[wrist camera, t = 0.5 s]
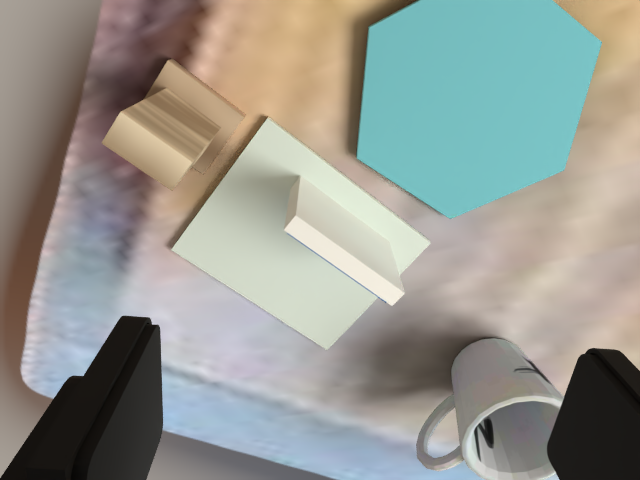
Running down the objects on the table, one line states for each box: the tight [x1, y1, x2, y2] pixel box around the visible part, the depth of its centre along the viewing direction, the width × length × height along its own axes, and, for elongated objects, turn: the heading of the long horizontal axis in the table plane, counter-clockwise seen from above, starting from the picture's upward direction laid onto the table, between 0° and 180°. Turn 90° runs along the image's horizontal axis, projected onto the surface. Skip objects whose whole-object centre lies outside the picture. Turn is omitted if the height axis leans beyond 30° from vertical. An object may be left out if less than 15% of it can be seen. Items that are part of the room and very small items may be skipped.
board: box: [171, 117, 431, 350], centre depth 45 cm, size 15×18×1 cm
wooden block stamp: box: [102, 59, 246, 191], centre depth 36 cm, size 6×7×11 cm
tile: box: [284, 176, 405, 306], centre depth 40 cm, size 2×10×9 cm, turn 52°
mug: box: [416, 338, 564, 480], centre depth 48 cm, size 10×15×10 cm
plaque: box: [356, 0, 602, 219], centre depth 40 cm, size 18×2×20 cm
